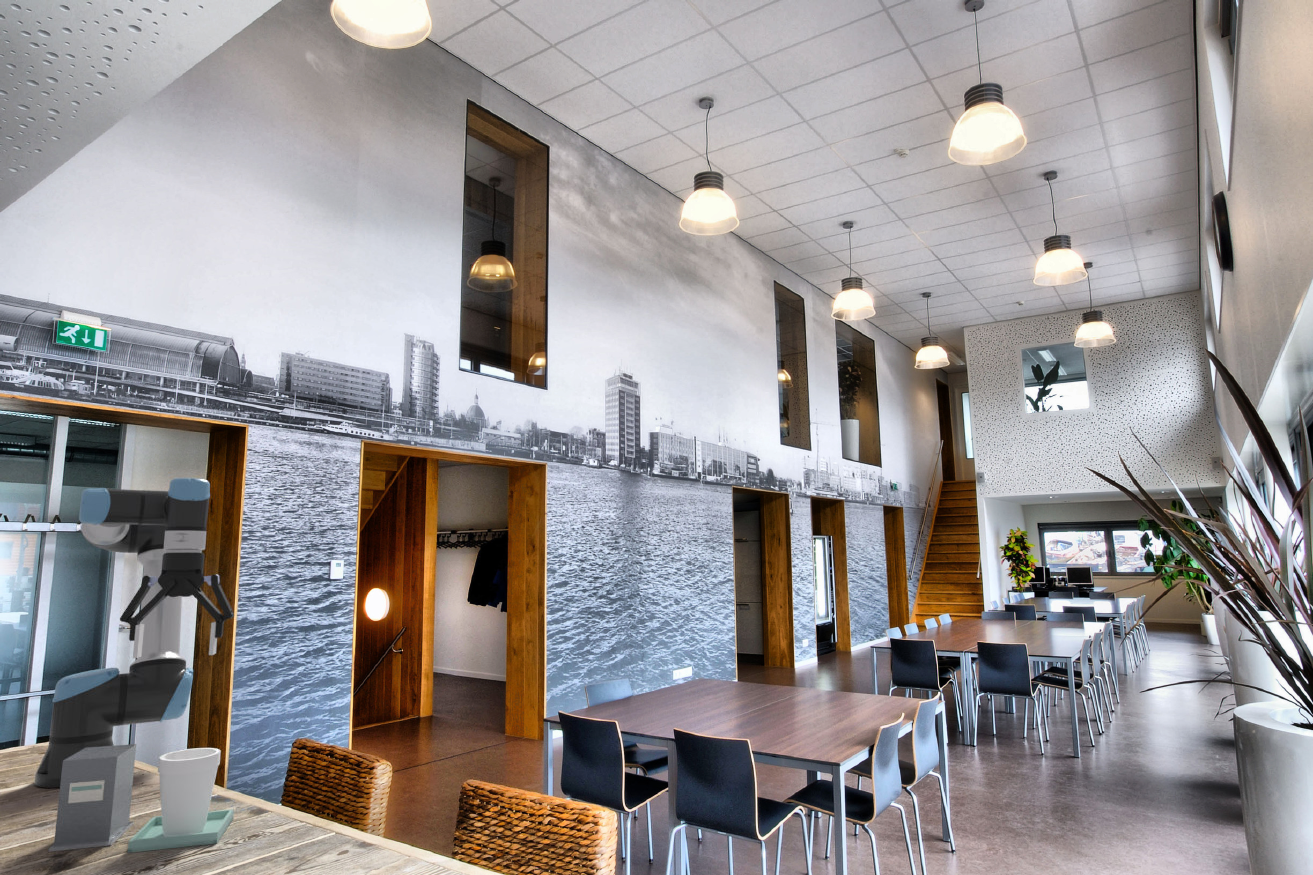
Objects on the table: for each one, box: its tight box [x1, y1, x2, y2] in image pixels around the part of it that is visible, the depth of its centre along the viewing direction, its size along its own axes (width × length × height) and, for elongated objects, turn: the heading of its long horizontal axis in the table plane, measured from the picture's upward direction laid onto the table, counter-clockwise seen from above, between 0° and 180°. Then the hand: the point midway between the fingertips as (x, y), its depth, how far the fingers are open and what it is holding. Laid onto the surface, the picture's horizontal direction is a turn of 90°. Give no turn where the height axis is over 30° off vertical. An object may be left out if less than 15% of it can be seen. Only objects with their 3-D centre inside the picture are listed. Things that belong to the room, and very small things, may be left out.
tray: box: [127, 808, 235, 854], centre depth 136 cm, size 13×13×2 cm
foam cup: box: [157, 747, 222, 837], centre depth 137 cm, size 10×9×13 cm
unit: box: [48, 743, 137, 853], centre depth 136 cm, size 11×9×14 cm
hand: (175, 655), depth 158 cm, fingers open, 13 cm apart
